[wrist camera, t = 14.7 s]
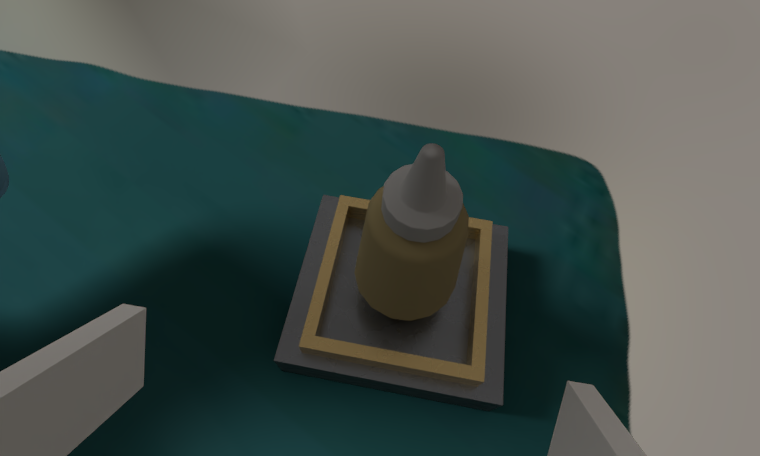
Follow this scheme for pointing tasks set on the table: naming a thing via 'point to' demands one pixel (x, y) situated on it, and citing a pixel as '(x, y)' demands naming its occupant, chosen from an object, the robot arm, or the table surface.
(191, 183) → the table surface
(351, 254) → the square gold-rimmed tray
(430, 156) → the squeeze bottle
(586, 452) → the robot arm
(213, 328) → the table surface
